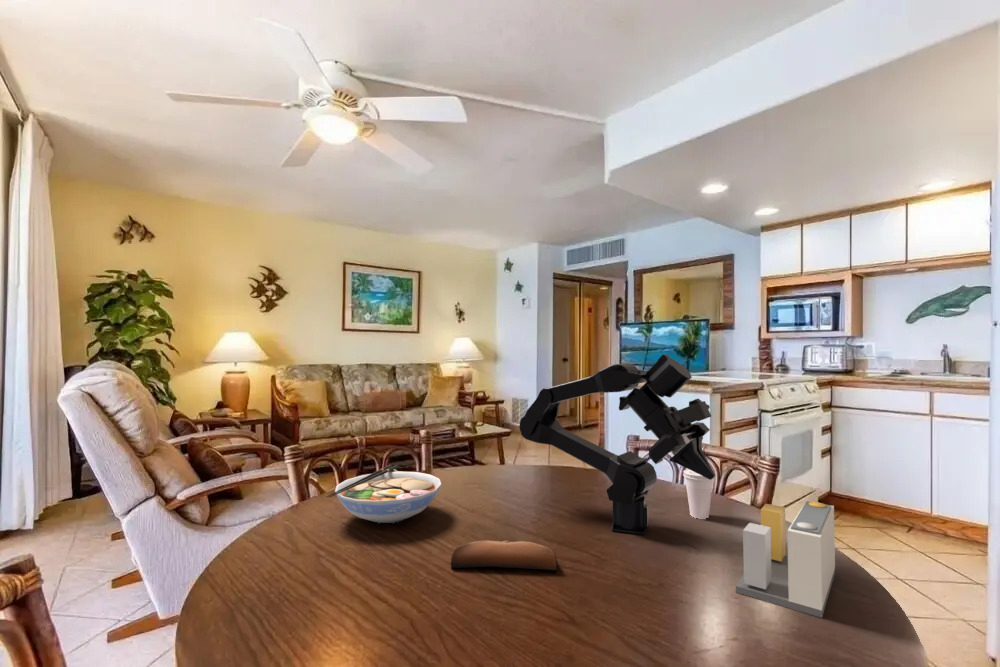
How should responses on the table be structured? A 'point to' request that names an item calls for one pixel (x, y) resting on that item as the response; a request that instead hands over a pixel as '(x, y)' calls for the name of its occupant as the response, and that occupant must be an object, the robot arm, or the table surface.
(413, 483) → the ramen bowl
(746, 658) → the table surface
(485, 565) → the sunglasses case
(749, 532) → the light grey block
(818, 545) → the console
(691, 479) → the smoothie
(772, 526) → the amber block
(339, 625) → the table surface
